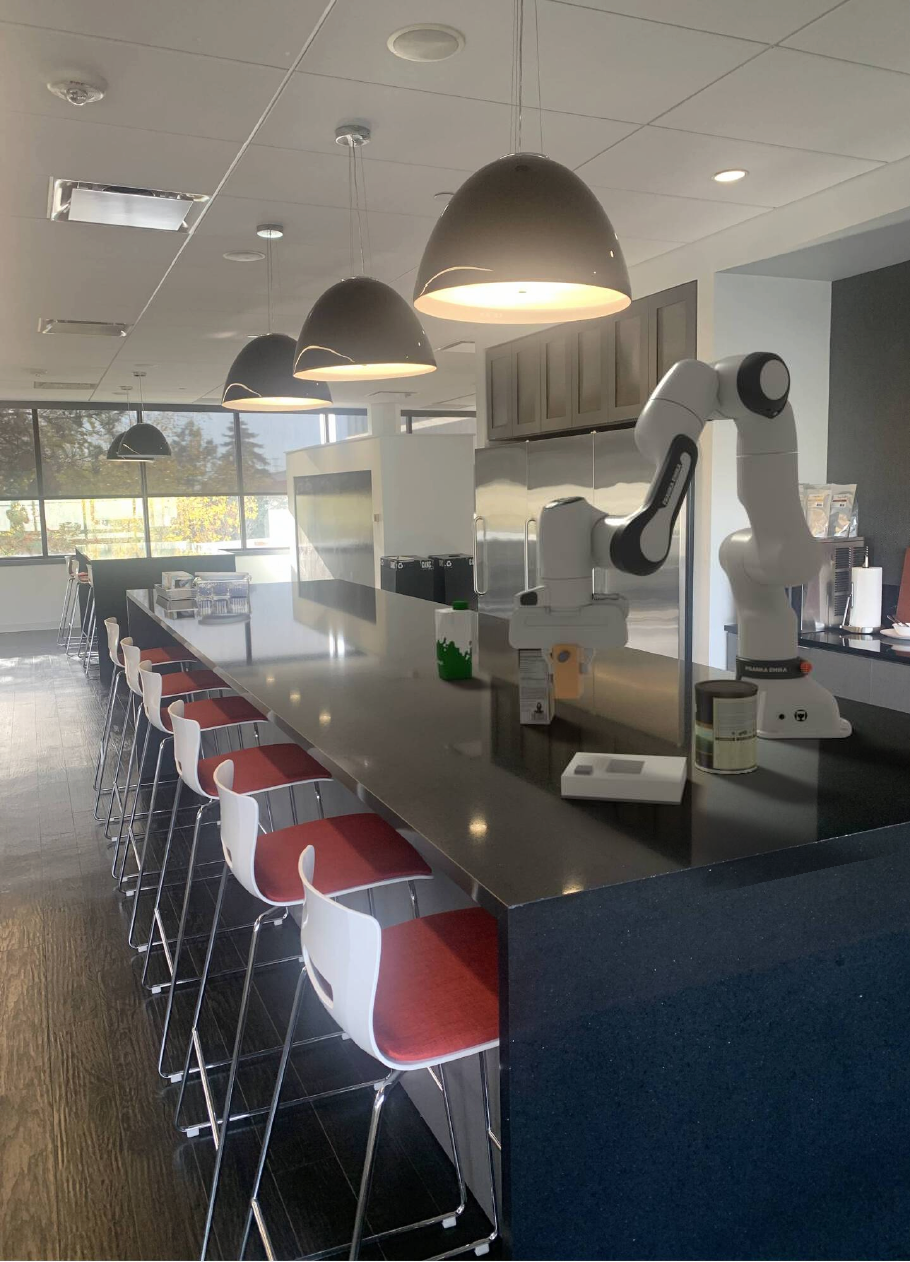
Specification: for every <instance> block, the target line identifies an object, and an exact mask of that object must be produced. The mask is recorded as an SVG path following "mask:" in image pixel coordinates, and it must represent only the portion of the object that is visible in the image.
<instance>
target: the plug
mask: <svg viewBox="0 0 910 1262" xmlns="http://www.w3.org/2000/svg"><path fill="white" fill-rule="evenodd" d="M553 661H554V674H553V680H554V699H570V700H571V699H578V700H579V699H580V697H581V696H582V695H583V694H584V693H585V675H584V674H580V670H581V669H580V664H581V663H585V662H584V649H581V648H578V645H554V646H553Z"/></svg>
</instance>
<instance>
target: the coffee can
mask: <svg viewBox="0 0 910 1262" xmlns="http://www.w3.org/2000/svg"><path fill="white" fill-rule="evenodd" d="M757 691H758V685H756V684H754V683H751V682H747V681H741V680H735V679H709V680H708V679H707V680H702V681H699V682H695V684H694V716H695V717H694V720H695V721H694V724H695V725H694V727H695V728H694V731H695V732H694V733H695V734H694V735H695V736H694V738H695V739H694V742H695V743H694V747H695V748H694V750H695V751H694V754H695V758H694V767H695V768H696V769H698V770H699V769H700V771H702V772H704V771H705V773H708V772H709V773H708V774H713V773H718V774H717V775H721V774H739V773H747V772H750V773H753V772H754V771H753V770H755V769H756V770H757V769H758V765H757V752H758V751H757V743H758V742H757V739H758V736H757ZM756 770H755V771H756ZM752 771H753V772H752ZM719 773H720V774H719ZM747 774H748V773H747Z"/></svg>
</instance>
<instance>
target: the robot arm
mask: <svg viewBox="0 0 910 1262" xmlns="http://www.w3.org/2000/svg"><path fill="white" fill-rule="evenodd" d="M790 390H791V375H790V370H789V368H788V366H787V364H786V363H785V361H784V360H783V358H782V357H781V356H780V355H779V354H777V353H773V352H770V351H769V352H768V351H754V352H751V353H744V354H735V355H730V356H726V357H724V358H722V359H719V360H715V361H712V362H709V363H706V362H703V361H702V360H699V359H693V358H685V359H682V360H679V361H678V362H675V364H673V365H672V366H671V368H670V369H669V370H668V371H667V372H666V373H665V374H664V375H663V377H662V378H661V380H660V381H659V383H658V384H657V385H656V387H655V388H654V390H653V391H652V393H651V394H650V396H649V397H648V400H647V401H646V403H645V405H644V407H643V409H642V411H641V413H640V414H639V416H638V418H637V421H636V424H635V427H634V432H633V436H634V442H635V445H636V447H637V449H638V450H639V452H640V453H641V455H643V456H644V458H646V459H647V460H648V461H649V462H650V463H651V464H653V465H655V466H656V468H655V473H654V475H653V478H652V480H651V482H650V485H649V486H648V487H649V488H648V490H647V493H646V495H645V498H644V500H643V503H642V504H641V506H640V508H638V509H637V510H636V511H634V512H632V513H630V514H610V513H608V512H605V511H604V510H600V509H598V508H597V507H595V506H593V505H592V504H590V503H589V502H588V501H587V499H586V498H585V497H584V496H583V497H582V496H579V495H577V496H576V495H575V496H568V497H562V498H558V499H554V500H551V501H548V502H547V503H546V504H544V506H543V507H542V509H541V512H540V517H539V523H538V551H539V552H538V553H539V556H540V559H541V570H540V576H539V578H540V579H539V581H540V582H539V585H535V586H534V585H533V586H531V587H529V588H528V589H525V590H522V591H519V592H518V593H517V594H515V595H514V596H513V604H514V606H515V607H516V608H514V609H513V610H512V612H511V614H510V618H509V627H508V630H509V631H508V642H509V644H510V646H511V647H512V648H513V649H518V648H541V653H542V656H543V658H544V659H545V661H546V663H547V664H548V669H549V674H553V675H554V659H553V660H552V658H551V656H550V655H549V654H550V653H551V652H552V648H553V646H554V645H578V648H581V649H583V650H585V655H586V656H587V655H588V657H587V659H586V660H585V662H584V663H581V664H580V669H581V670H580V674H584V676H585V675H587V676H588V675H590V673H591V662H592V661H593V660H594V658H595V655H596V654H597V649H600V650H601V649H610V650H611V649H614V650H615V649H620V650H621V649H624V648H625V646H627V644H628V643H629V630H628V629H629V627H628V623H627V622H628V621H627V618H628V617H629V614H630V608H629V607H630V604H629V600H628V599H627V598H626V597H625V596H623V595H620V593H617V592H612V593H604V592H603V593H602V592H601V593H599V592H597V593H596V592H595V593H594V588H593V587H594V584H593V570H599V571H608V572H614V573H615V572H617V573H624V574H629V575H633V576H637V577H646V576H650V575H653V574H654V573H657V571H659V570H660V569H661V568H662V566H663V565H664V564H665V562H666V560H667V559H668V557H669V554H670V550H671V546H672V540H673V536H674V535H673V533H674V529H675V525H676V521H677V519H678V517H679V514H680V511H681V508H682V507H683V503H684V501H685V499H686V495H687V492H688V491H689V488H690V485H691V482H692V480H693V477H694V473H695V471H696V467H697V463H698V458H699V449H698V446H697V445H698V444H697V443H698V441H699V438H700V436H701V434H702V432H703V430H704V428H705V426H706V424H707V422H713V421H726V420H732V421H733V422H734V424H735V426H736V430H737V433H736V434H737V435H736V448H735V449H736V453H735V455H736V495H737V499H738V502H740V504H741V505H742V506H743V508H744V509H745V512H746V514H747V515H746V516H747V517H748V521H749V524H750V527H746V528H742V529H738V530H736V531H734V532H732V533H729V534H728V535H727V536H726V537H725V538H724V539H723V541H722V542H721V543H720V546H719V547H718V548H719V549H718V556H717V557H718V561H719V564H720V565H719V566H720V567H721V568H722V570H723V571H724V573H725V574H726V576H727V579H728V582H729V586H730V589H731V593H732V597H733V601H734V606H735V610H736V616H737V617H736V618H737V654H736V656H735V661H734V680H741V681H747V682H751V683H754V684H756V685H758V691H757V737H759V738H763V739H833V738H835V739H838V738H839V739H840V738H841V739H843V738H847V737H849V736H851V734H852V732H853V731H852V730H853V729H852V725H851V723H850V721H848V720H847V719H845V718H843V717H841V716H840V710H839V704H838V702H837V699H836V698H835V697H834V695H833V694H832V693H831V692H830V691H828V689H826V688H824V687H823V686H822V685H821V684H820V683H818V682H816V680H814V679H813V678H811V677H810V676H809V673H811V671H812V670H813V667H812V663H811V662H809V660H807V659H806V658H804V657H801V656H799V655H798V650H799V649H798V644H799V643H798V637H799V636H798V633H799V619H798V615H797V613H796V611H795V610H794V608H793V607H792V605H791V604H790V601H789V598H788V596H787V592H786V588H792V587H799V586H803V585H806V584H809V583H811V582H812V581H813V580H814V579H816V578H817V576H818V575H819V574H820V573H821V571H822V568H823V565H824V559H825V558H824V556H825V555H824V551H823V548H822V545H821V543H820V542H819V541H818V539H817V538H816V537H815V536H814V535H813V534H812V533H813V532H811V530H810V528H809V525H808V522H807V520H806V516H805V513H804V510H803V507H802V501H801V497H800V488H799V458H798V457H799V453H798V451H799V449H798V448H799V447H798V433H797V427H796V420H795V415H794V409H793V406H792V404H791V402H790V401H789V395H790V392H791V391H790Z"/></svg>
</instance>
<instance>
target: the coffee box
mask: <svg viewBox="0 0 910 1262" xmlns="http://www.w3.org/2000/svg"><path fill="white" fill-rule="evenodd" d="M517 653H518V655H517V656H518V658H517V659H518V684H519V685H518V687H519V719H520V722H519V723H520V724H521V725H550V724H551V722H552V720H553V718H554V715H555V685H554V674H549V669H548V664H547V663H546V661H545V659H544V658H543V656H542V653H541V648H517ZM549 655H550V656H551V658H552V660H553V661H554V649H553V648H552V652H551V653H550V654H549Z"/></svg>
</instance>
